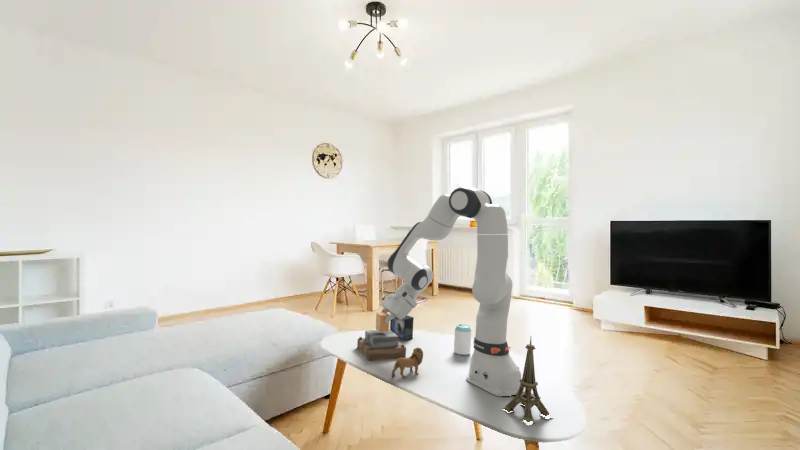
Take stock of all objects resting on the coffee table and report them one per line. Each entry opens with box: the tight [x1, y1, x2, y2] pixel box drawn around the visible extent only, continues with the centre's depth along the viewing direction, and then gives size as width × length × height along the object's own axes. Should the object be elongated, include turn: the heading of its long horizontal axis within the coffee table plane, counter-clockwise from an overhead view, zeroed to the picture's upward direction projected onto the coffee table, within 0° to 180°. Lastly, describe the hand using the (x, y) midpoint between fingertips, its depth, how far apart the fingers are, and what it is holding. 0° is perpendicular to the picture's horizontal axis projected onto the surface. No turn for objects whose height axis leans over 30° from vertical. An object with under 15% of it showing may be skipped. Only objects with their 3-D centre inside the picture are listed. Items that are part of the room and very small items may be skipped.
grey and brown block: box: [356, 329, 407, 362], centre depth 163 cm, size 16×16×8 cm
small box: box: [389, 314, 414, 342], centre depth 186 cm, size 11×6×10 cm, turn 42°
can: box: [453, 323, 472, 356], centre depth 167 cm, size 7×7×12 cm
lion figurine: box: [391, 347, 424, 379], centre depth 140 cm, size 15×5×9 cm, turn 134°
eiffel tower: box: [502, 337, 550, 422], centre depth 115 cm, size 11×11×25 cm
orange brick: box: [375, 311, 390, 332], centre depth 163 cm, size 5×4×7 cm
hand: (382, 319), depth 163 cm, fingers closed on orange brick, 5 cm apart
